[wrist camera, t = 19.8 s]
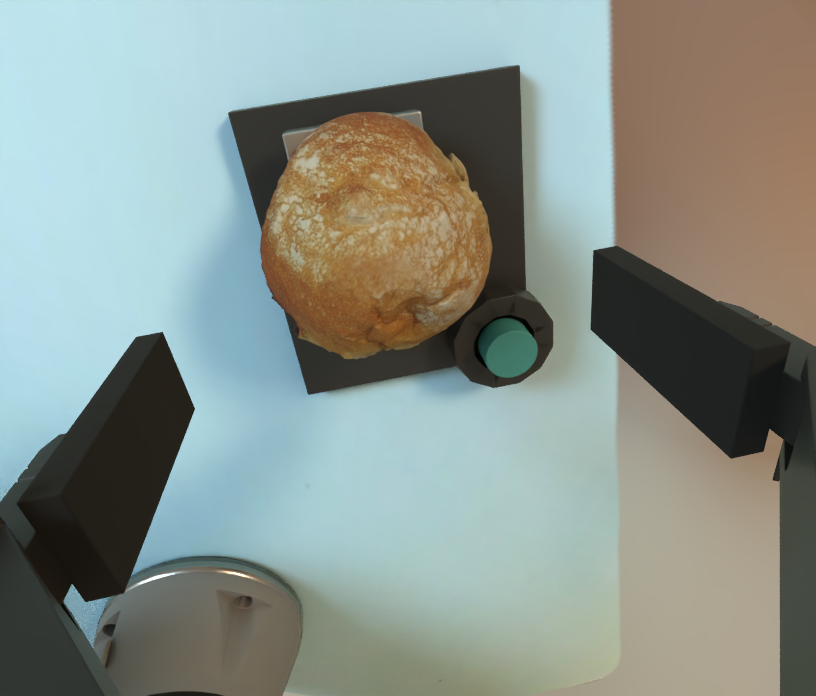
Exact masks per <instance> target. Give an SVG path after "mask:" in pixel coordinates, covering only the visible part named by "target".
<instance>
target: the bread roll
mask: <svg viewBox="0 0 816 696" xmlns="http://www.w3.org/2000/svg"><path fill="white" fill-rule="evenodd" d="M260 252H261V259H262V269H263V272H264V274H265V277H266V281H267V286H268V287H269V289H270V291H271V293H272V294H273V297H272V299H274V300H275V301H276V302H277V303H278V304H279V305H280V306H281V308H282V309H284V310H285V311H286V312H287V313H289V314H290V315H291V316H292V317H293V318H294V320H295V321H296V323H295V325H294V328H293V331H294V334H295V335H296V336H297V337H298V338H301V339H304V340H307V341H309V342H311V343H313V344H316V345H318V346H321V347H323V348H325V349H326V350H328V351H329V352H331V351H332V352H335V353H337V354H340V355H341V356H342V357H343V358H344V359H352V358H353V359H358V358H366V357H368V356H371V355H375V354H376V353H377V352H379V351H381V350H382V349H384V350H386V351H388V350H391V349H395V350H400V349H408V348H411V347H414V346H416V345H419V343H420V342H422V341H424V340H426V339H428V338H430V337H432V336H434V335H436V334H438V333H439V332H441V331H443V330H445V329H447V328H448V327H449V326H450V325H452V324H453V323H454V322H456V321H457V320H458V319H459V318H460V317H461V316H462V315H463V314H465V313H466V312H467V311H468V310H469V309H470V308H471V307H472V306H473V304H474V303H475V301H476V300H477V298H478V296H479V295H480V293H481V291H482V289H483V287H484V284H485V281H486V278H487V275H488V273H489V266H490V260H491V254H492V242H491V238H490V234H489V225H488V216H487V214H486V212H485V209H484V207H483V205H482V202H481V201H480V200H479V197H478V195H477V192H476V191H474V192H472V191H471V189H470V187H469V180H468V176H467V172H466V169H465V167H464V165H463V164H462V162H461V161H460V160H459V159H458V158H457V157H456V156H455V155H454V154H453V153H451V154H450V155H449V156H447V154H446V153H445V152H444V151H443V150H442V149H441V146H439V145H438V144H437V143H435V142H434V141H432V140H431V139H430V137H429V136H428V134H427V133H426V132H425V131H424V130H422V129H421V128H419V127H418V126H417V125H415V124H413V123H411V122H409V121H407V120H405V119H403V118H400V117H397V116H395V115H391V114H388V113H383V112H359V113H352V114H348V115H344V116H340V117H337V118H335V119H333V120H331V121H328V122H326V123H324V124H322V125H321V126H320V127H319V128H317V129H316V130H314V131H313V132H311V133H310V134H309V135H308V136H306V137H305V138H304V140H302V141H301V143H300V145H299V146H298V148H297V149H296V150H295V151H294V152H292V154H291V156H290V158H289V161H288V164H287V167H286V169H285V170H284V172H283V174H282V176H280V178H279V180H278V185H277V189H276V190H275V191H274V194H273V196H272V199H271V202H270V206H269V208H268V209H267V212H266V219H265V223H264V225H263V227H262V235H261V246H260Z"/></svg>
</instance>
